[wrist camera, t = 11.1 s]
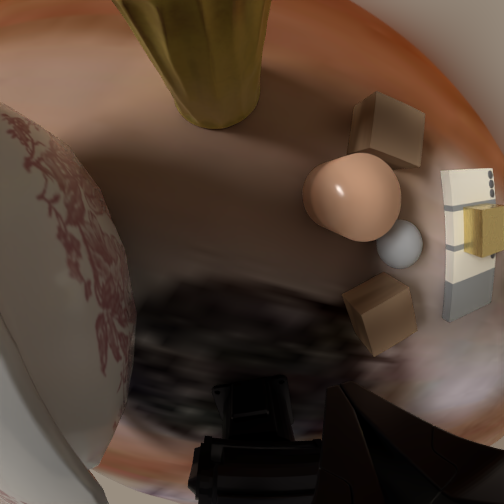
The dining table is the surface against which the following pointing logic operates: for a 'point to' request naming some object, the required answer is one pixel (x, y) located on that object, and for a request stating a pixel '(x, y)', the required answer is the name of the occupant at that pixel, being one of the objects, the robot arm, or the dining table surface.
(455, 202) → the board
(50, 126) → the dining table surface
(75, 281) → the chamber pot
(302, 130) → the dining table surface
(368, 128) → the walnut cube
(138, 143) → the dining table surface
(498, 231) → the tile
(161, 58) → the vase
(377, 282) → the walnut cube
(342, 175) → the peach rounded capsule
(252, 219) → the dining table surface
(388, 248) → the grey ball
